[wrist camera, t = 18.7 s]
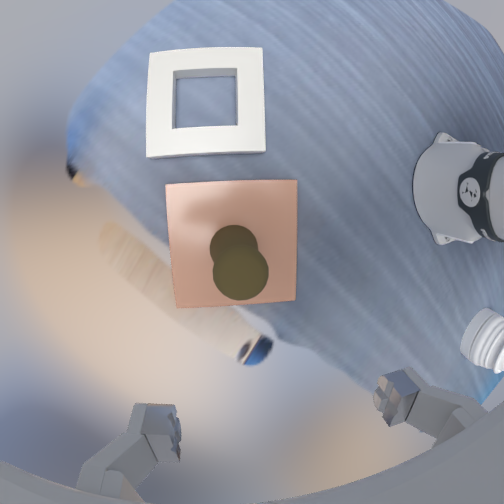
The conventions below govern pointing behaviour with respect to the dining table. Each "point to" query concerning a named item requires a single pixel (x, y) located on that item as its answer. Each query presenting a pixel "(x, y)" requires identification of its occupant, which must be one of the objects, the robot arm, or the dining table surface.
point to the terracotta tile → (223, 214)
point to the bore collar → (212, 137)
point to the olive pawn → (238, 263)
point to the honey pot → (485, 340)
